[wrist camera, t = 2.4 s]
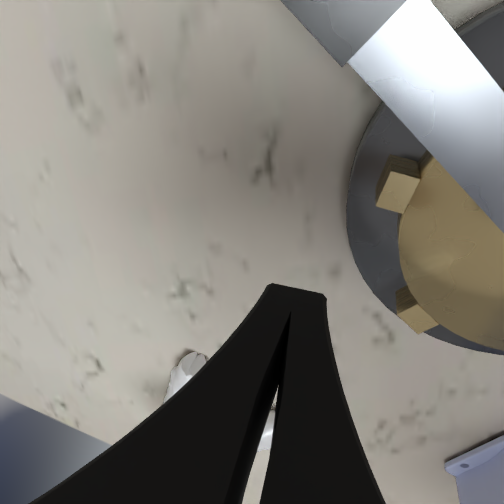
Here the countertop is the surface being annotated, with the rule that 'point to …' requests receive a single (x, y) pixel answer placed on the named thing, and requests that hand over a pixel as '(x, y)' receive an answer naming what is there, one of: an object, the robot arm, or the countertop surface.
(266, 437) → the seated beast figurine
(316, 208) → the countertop surface
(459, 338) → the disc
